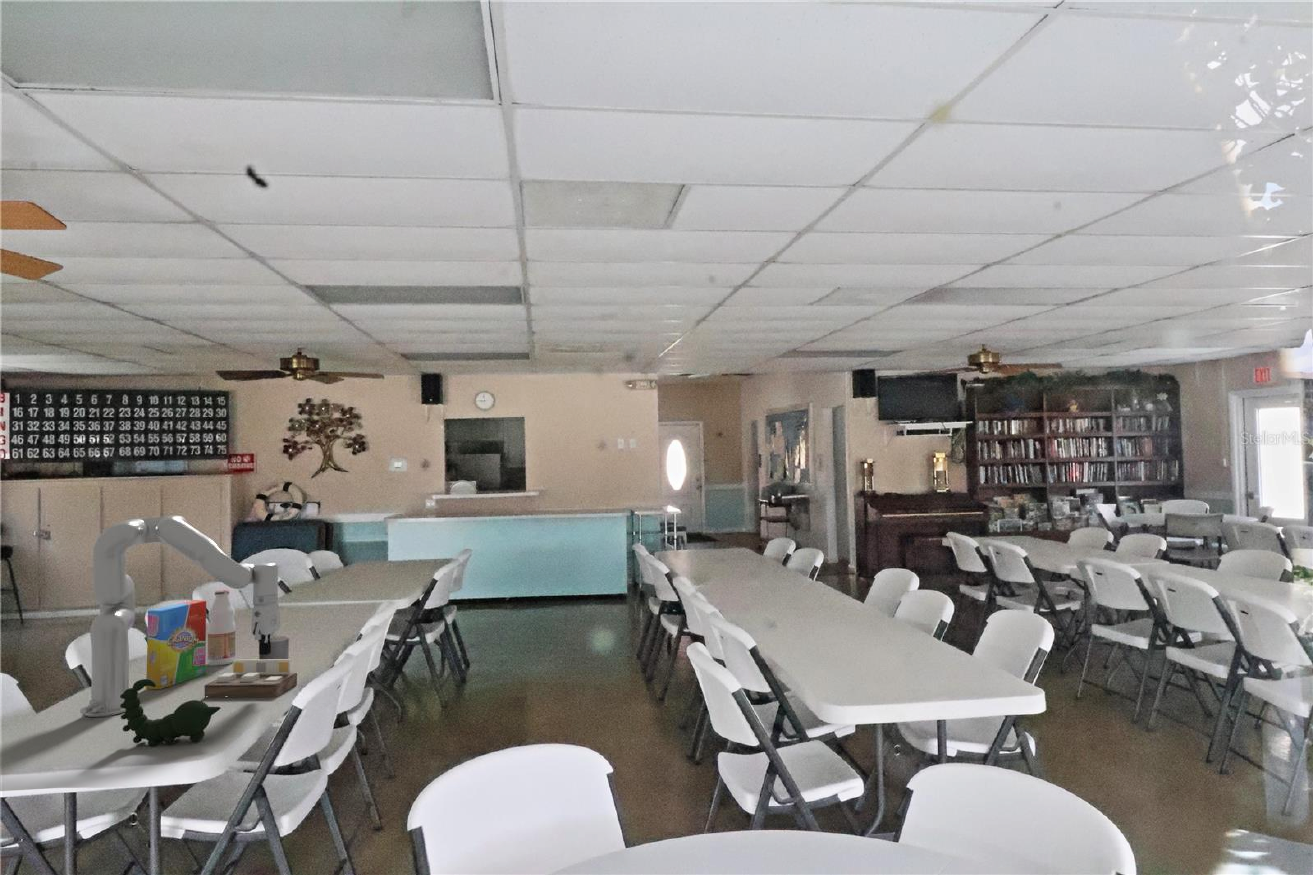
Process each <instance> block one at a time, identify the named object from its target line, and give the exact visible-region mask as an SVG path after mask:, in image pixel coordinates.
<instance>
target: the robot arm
mask: <svg viewBox="0 0 1313 875" xmlns="http://www.w3.org/2000/svg"><path fill="white" fill-rule="evenodd" d="M160 542H163V543H164V544H166V545H168V546H169V547H171V548H172V549H174V550H175V551H177V552H178V553H180V554H182V555H183V556H185V557H187V558H188V559H189V560H191V561H192V562H193V563H195V564H196V565H197V566H198V567H200V569H201V568H202V570H203V571H205V572H207V573H208V574H209V575H211V576H212V577H213V578H215V579H216V580H218V581H219V582H220V583H223V584H225V585H226V586H228V587H229V588H232V589H235V590H241V589H244V588H246V587H247V586H249V585H252V590H253V591H252V605H253V608H252V616H251V633H252V636H254V640H255V641H256V640H257V642H258V654H260V655H268V654H270V653H271V642H270V641H272V636H274V635H275V633H276V632H277V631H279V630H280V629H281V628H280V627H281V618H280V606H279V601H278V600H279V599H278V598H279V566H278V564H277V563H275V562H263V563H247V562H246V563H245V562H244V563H243V562H242V563H238V562H237V561H235V560H234V559H233V558H231V557H229V555H227V554H226V553H225V552H223V550H222V549H220V548H219V545H217V544H216V542H215V541H214V540H213V539H212V538H210V537H209V536H208V535H205V534H204V533H202V532H201V531H199V530H198V529H196V528H195V527H193V526H192V525H190V524H189V522H188V520H187V519H186V518H185V517H183V516H181V515H176V514H175V515H166V516H153V517H143V518H142V517H141V518H131V519H127V520H123V521H120V522H117V523H115V524H114V525H112V526H110V527H108V528H106V529H105V530H104V531H102V532H101V533H100V535H99V536H98V537H97V538H96V541H95V542H94V546H93V550H92V597H93V599H94V601H95V602H96V603H97V604H99V612H100V613H99V614H98V615H97V616H95V618H93V621H92V622H91V625H90V630H89V635H90V636H89V637H90V646H91V647H90V648H91V692H90V693H91V697H90V698H91V700H89V701H88V702H89V704H88V706H87V705H86V706H85V707H82V708H81V709H80V710H79V711H80V714H81V715H85V716H86V717H91V718H100V717H101V718H102V717H108V716H109V717H110V716H115V715H118V714H124V713H125V711H126V709H125V708H121V707H120V705H121V704H122V703H124V701H125V700H124V699H122V698H120V695H121V694H123V693H124V692H125V691H126V690H127V689H129V687H130V686H129V682H130V678H129V677H130V676H129V675H130V669H129V668H130V658H129V657H130V645H129V630H131V628H132V627H133V625H134V623H135V621H136V594H135V592H136V589H135V584H134V580H133V578H132V577H131V575H129V574H127V558H126V557H127V556H126V551H127V549H129V548H132V547H135V546H136V545H140V544H152V543H153V544H154V543H160Z"/></svg>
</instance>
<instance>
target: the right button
mask: <svg viewBox="0 0 1313 875" xmlns="http://www.w3.org/2000/svg"><path fill="white" fill-rule="evenodd" d="M281 679H283V676H271V677H269V678H267V679H265V682H277V681H279V680H281Z"/></svg>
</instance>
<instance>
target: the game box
mask: <svg viewBox="0 0 1313 875" xmlns="http://www.w3.org/2000/svg"><path fill="white" fill-rule="evenodd" d="M206 638H207V600H200V599H199V600H197V599H195V600H194V599H193V600H190V601H185V602H182V603H178V604H173V605H169V606H168V605H167V606H163V607H157V608H153V609H149V610H147V641H146V642H147V643H146V644H147V645H146V646H147V647H146V648H147V649H146V676H145V677H146V678H145V679H149V680H151V681H153V682H154V683H155V684H156V687H152V686H145V689H146V690H162V689H165V688H167V687H170V686H174V685H176V684H180V683H182V682H186V681H189V680H191V678H192V679H195V678H196V677H200V676H203V675H206V660H207V658H206V655H207V654H206V653H207V652H206V650H207V647H206V644H207V641H206ZM188 679H189V680H188ZM179 682H180V683H179Z"/></svg>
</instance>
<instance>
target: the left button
mask: <svg viewBox="0 0 1313 875" xmlns="http://www.w3.org/2000/svg"><path fill="white" fill-rule="evenodd" d="M217 679H218V682H231V681H233V680H235V679H236V673H233V672H224V673H223V674H220V675H218V676H217Z"/></svg>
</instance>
